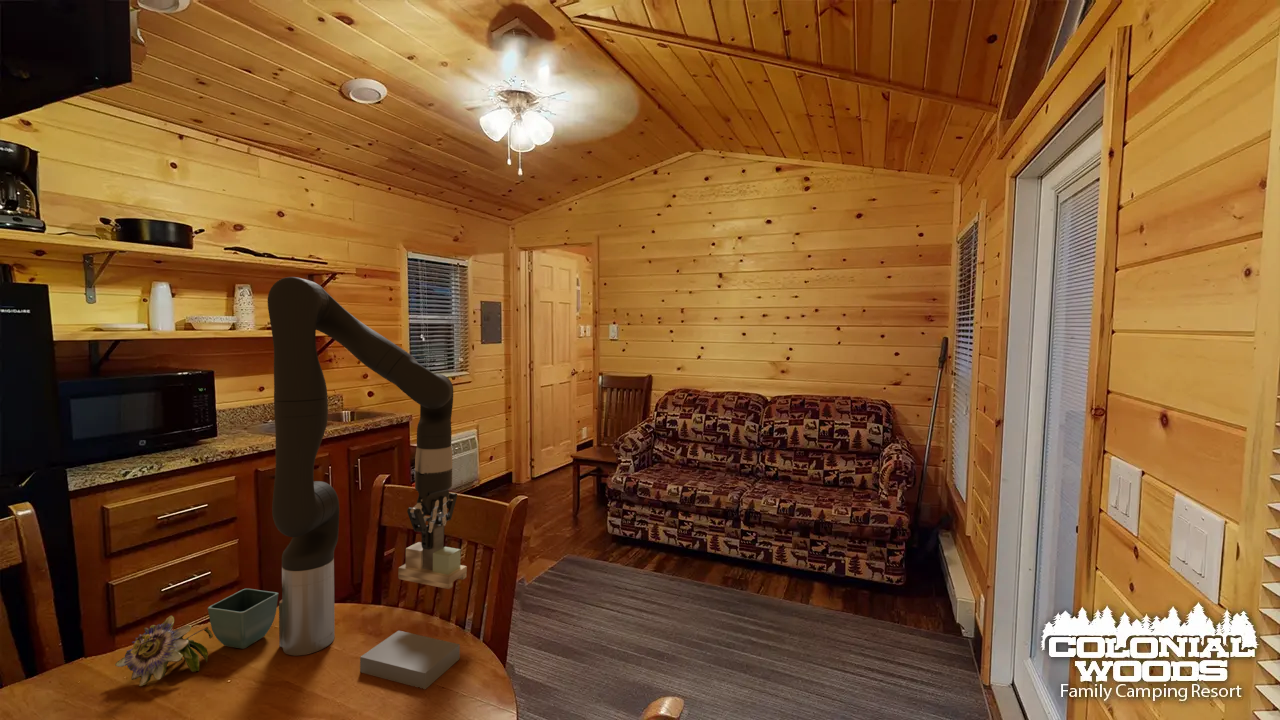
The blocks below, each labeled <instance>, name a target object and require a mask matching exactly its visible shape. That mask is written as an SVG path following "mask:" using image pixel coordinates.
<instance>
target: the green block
mask: <svg viewBox="0 0 1280 720" xmlns="http://www.w3.org/2000/svg"><path fill="white" fill-rule="evenodd" d="M461 550H462V549H461V548H457V547H456V548H455V547H450V546H443V548H442V549H440V550H438V551H436V552H434V553H433V572H437V573H442V574H447V575H449V574H450V573H452V572H454V571H455V570H457V569H458V568H460V565H461Z"/></svg>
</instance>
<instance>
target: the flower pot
mask: <svg viewBox="0 0 1280 720" xmlns="http://www.w3.org/2000/svg"><path fill="white" fill-rule="evenodd" d="M279 595H280V594H279V592H276V591H268V590H260V589H254V588H244V589H241V590H239V591H237V592H235V593H233V594H231V595H229V596H227V597H225V598H222V599H221V600H220V601H218V602H215V603H213V604H211V605H210V606H208V607H207V613H208V617H209V622H210V627H211V630H212V632H213V633H212V634H213V636H215V638H216V639H217V640H218V642H220V643H221V644H222V645H223V646H224V647H231V648H237V649H241V650H242V649H246V648H249V646H252V645H253V644H255V642H257V641H260V640H261V639H262V638H264V637H265V636H266V635H267V633H268V632H269V630H270V629H271V627H272V625H273V624H274V621H275V618H276V613H277V607H278V600H279Z"/></svg>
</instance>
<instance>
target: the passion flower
mask: <svg viewBox="0 0 1280 720" xmlns="http://www.w3.org/2000/svg"><path fill="white" fill-rule="evenodd" d="M174 623H175V616H173V615H169V616H168V617H166V619H165V620H164V621H163V622H162V623H161V624H160V623H158V624H157V625H155V624H152V625H150V626H149V628H148V627H143V628H144V629H143V630H144V631H145V632H144V633H143V634H141V633H140V634H138V637H135V638H134V639H135V640H134V641H131V643H132V648H130V649H128V650H126V652H125V654H124V657H122V658H121V659H120V660H118V661H116V663H115V667H118V668H119V667H121V668H123V667H124V666H125V667H126V666H127V668H128V669H129V671H132V674H131V676H130V677H131V678H130V679H131V681H134V680H137V679H139V678H140V680H139V685H138V686H139V687H143V685H144V686H145V685H147V684H148V682H150V681H151V677H152V675H153V677H154V679H155V680H156V681H160V680H161V679H162V678H163V677H164V676H165V674H166V672H167V669H168V668H167V666H168V663H170V662H173V663H174V662H180V661H181V659H182V660H183V659H184V661H185V663H186V665H187V667H188V668H189V670H190V671H191V672H192V673H195V672H196V671H198V672H199V671H200V666H201V665H200V664H201V662H200V661H201V660H200V656H199V654H200V655H201V657H202V658H203V659H204V660H205V663H208V658H209V652H208V648H207V647H206V646H205V645H203V644H201V643H199V642H197V641H194V640H193V639H189V638H190V637H191V638H192V637H193V636H194V635H197V634H198V633H200V632H203V631H204V632H206V633H207V634H208V639H212V638H213V637H214V634H213V633H212V631H211V630H210V629H209V627H208V626H206V627H205V628H202V629H201V630H199V631H196V632H194V633H193V634H191V635H190V636H188V637H186V638H184V636H185V635H187V633H189V632H190V631H191V630H192V625H191V624H189V625H188V624H187V625H184V626H181V627H179V628H176V629H173V628H174V627H173V626H174Z"/></svg>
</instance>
